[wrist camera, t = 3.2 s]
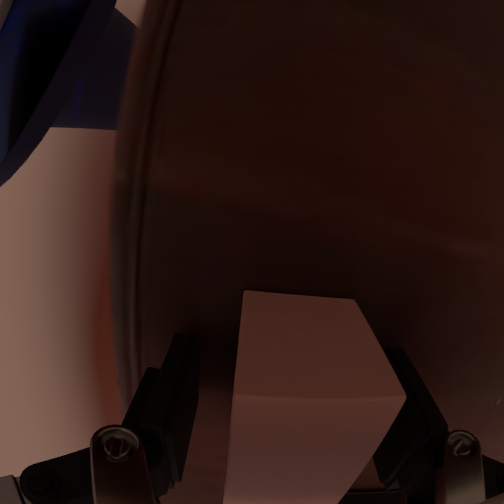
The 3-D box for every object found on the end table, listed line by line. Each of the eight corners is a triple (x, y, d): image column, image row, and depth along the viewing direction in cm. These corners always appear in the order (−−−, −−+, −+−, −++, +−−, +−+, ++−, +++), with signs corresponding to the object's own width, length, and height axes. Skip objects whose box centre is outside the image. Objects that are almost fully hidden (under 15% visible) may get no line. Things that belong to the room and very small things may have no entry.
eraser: (231, 419, 11) (222, 513, 7) (244, 288, 9) (233, 395, 5) (315, 423, 11) (330, 514, 7) (354, 298, 9) (408, 396, 5)
